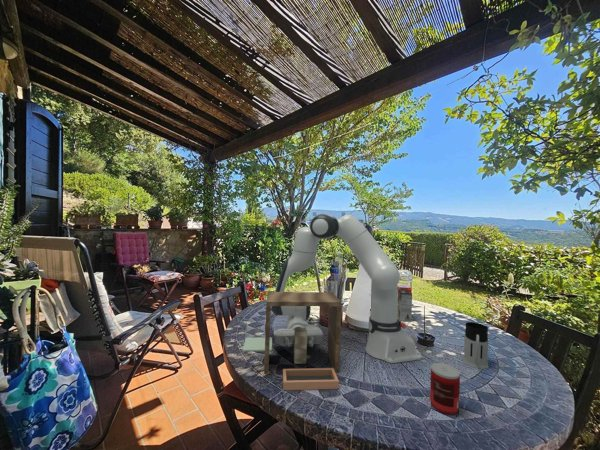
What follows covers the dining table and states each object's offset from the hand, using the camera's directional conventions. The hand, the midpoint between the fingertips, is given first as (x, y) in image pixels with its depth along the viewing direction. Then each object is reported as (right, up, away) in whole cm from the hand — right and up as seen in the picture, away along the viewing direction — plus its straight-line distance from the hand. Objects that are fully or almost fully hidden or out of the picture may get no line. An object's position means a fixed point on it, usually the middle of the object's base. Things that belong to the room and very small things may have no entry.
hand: (300, 344), depth 103 cm
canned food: (+43, -8, -23) cm, 50 cm away
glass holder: (+69, -9, +1) cm, 70 cm away
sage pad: (-19, -6, +13) cm, 24 cm away
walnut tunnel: (0, -6, -1) cm, 7 cm away
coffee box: (+61, -9, +53) cm, 81 cm away
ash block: (0, -6, +1) cm, 7 cm away
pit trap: (+3, -7, -13) cm, 15 cm away
